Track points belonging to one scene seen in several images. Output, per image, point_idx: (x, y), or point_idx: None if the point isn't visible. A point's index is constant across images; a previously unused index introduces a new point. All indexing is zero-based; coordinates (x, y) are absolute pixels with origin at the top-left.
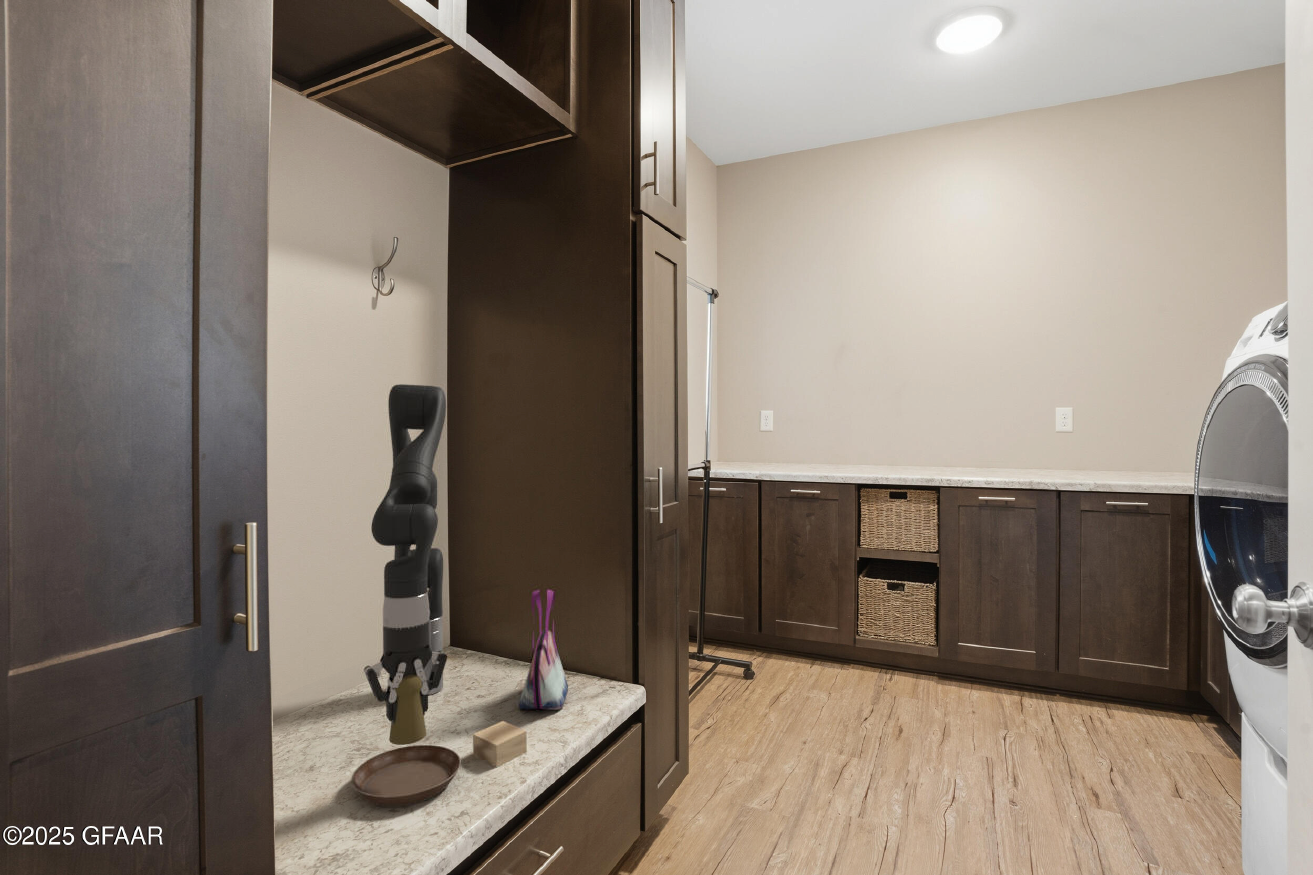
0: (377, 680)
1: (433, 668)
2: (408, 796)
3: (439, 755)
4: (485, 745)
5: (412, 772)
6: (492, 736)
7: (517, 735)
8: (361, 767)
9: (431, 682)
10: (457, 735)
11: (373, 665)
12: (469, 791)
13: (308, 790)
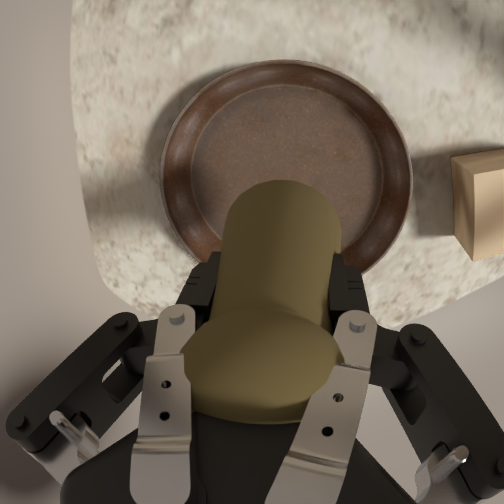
0: (97, 435)
1: (432, 420)
2: None
3: (385, 134)
4: (468, 218)
5: (308, 147)
6: (492, 218)
7: None
8: (187, 111)
9: (387, 389)
10: (459, 36)
11: (43, 464)
12: (374, 279)
13: (102, 96)
